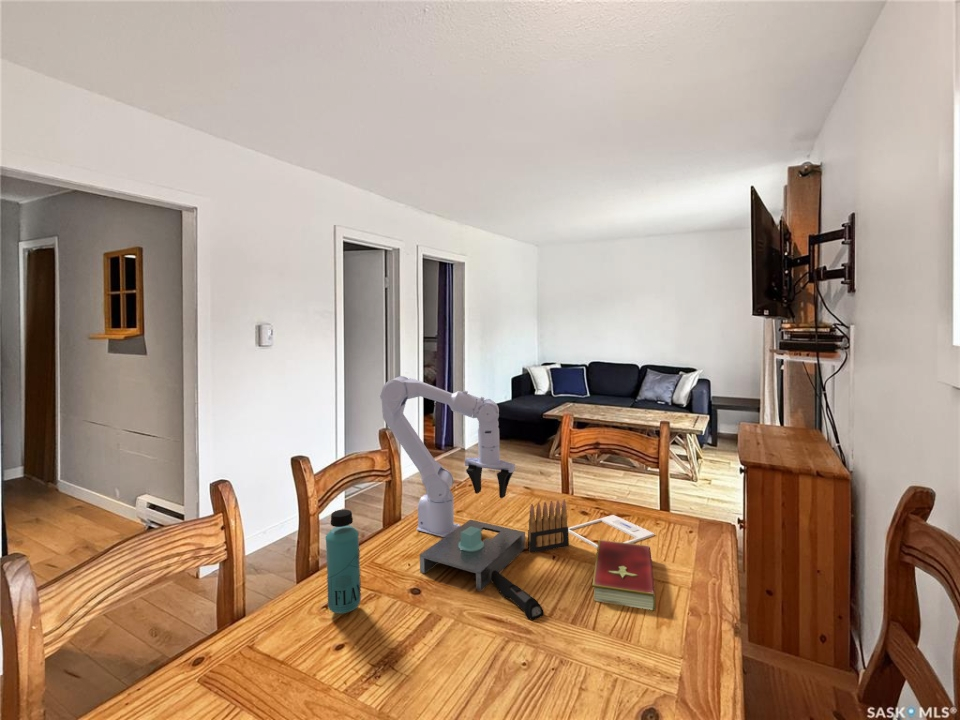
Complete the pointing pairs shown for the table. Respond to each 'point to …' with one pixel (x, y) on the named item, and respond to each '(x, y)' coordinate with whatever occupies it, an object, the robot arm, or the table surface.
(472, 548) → the peg
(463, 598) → the table surface
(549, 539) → the ammunition clip
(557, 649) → the table surface
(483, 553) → the keyhole plate
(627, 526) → the photo frame
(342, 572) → the beverage bottle
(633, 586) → the hardcover book
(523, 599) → the electric trimmer
